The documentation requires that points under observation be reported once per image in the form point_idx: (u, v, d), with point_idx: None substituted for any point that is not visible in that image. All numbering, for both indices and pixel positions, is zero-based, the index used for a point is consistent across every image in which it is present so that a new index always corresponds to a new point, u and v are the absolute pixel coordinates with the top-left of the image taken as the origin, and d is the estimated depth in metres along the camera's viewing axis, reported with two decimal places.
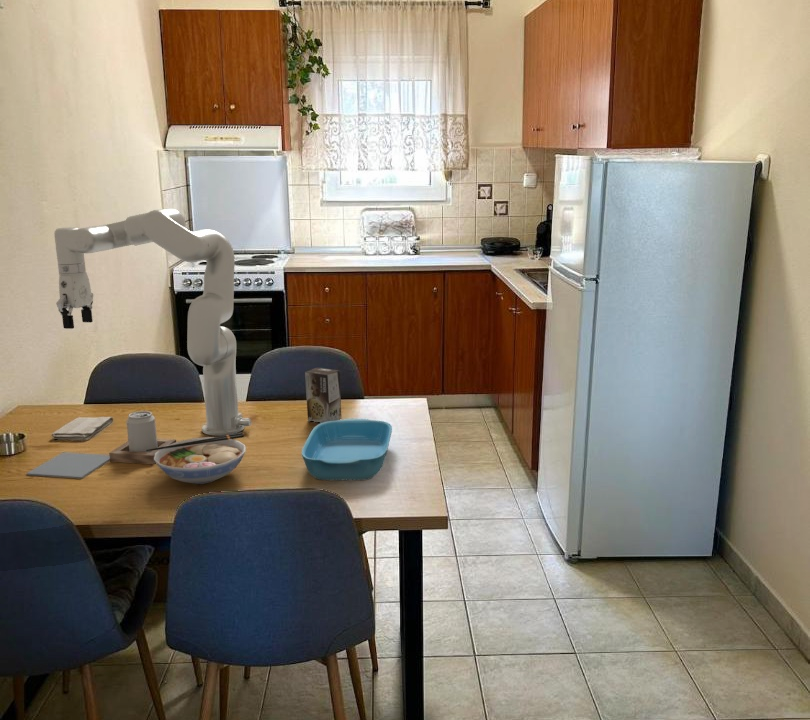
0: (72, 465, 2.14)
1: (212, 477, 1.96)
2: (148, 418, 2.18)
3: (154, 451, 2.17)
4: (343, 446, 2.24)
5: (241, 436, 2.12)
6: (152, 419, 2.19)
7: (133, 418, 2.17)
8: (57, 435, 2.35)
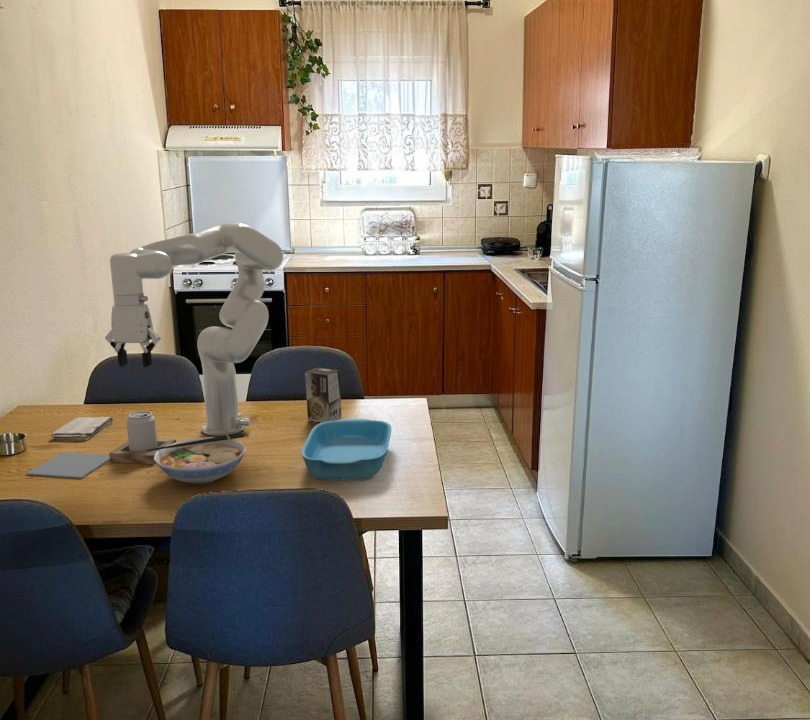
0: (72, 465, 2.14)
1: (212, 477, 1.96)
2: (148, 418, 2.18)
3: (154, 451, 2.17)
4: (342, 446, 2.24)
5: (241, 436, 2.12)
6: (152, 419, 2.19)
7: (133, 418, 2.17)
8: (57, 435, 2.35)
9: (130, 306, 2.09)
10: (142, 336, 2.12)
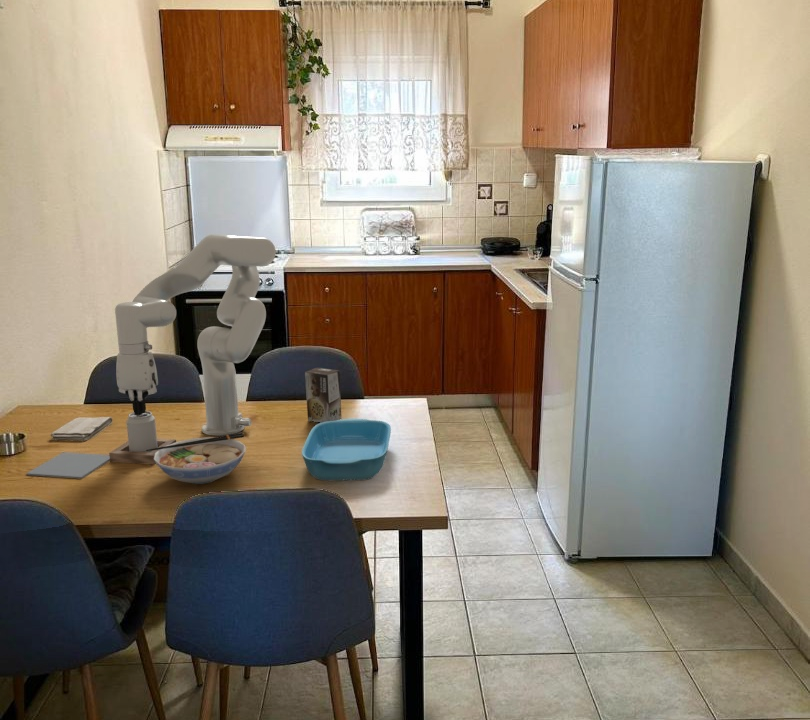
0: (72, 465, 2.14)
1: (212, 477, 1.96)
2: (148, 418, 2.18)
3: (154, 451, 2.17)
4: (342, 446, 2.24)
5: (241, 436, 2.12)
6: (152, 418, 2.19)
7: (133, 418, 2.17)
8: (56, 435, 2.35)
9: (135, 355, 2.12)
10: (146, 384, 2.15)
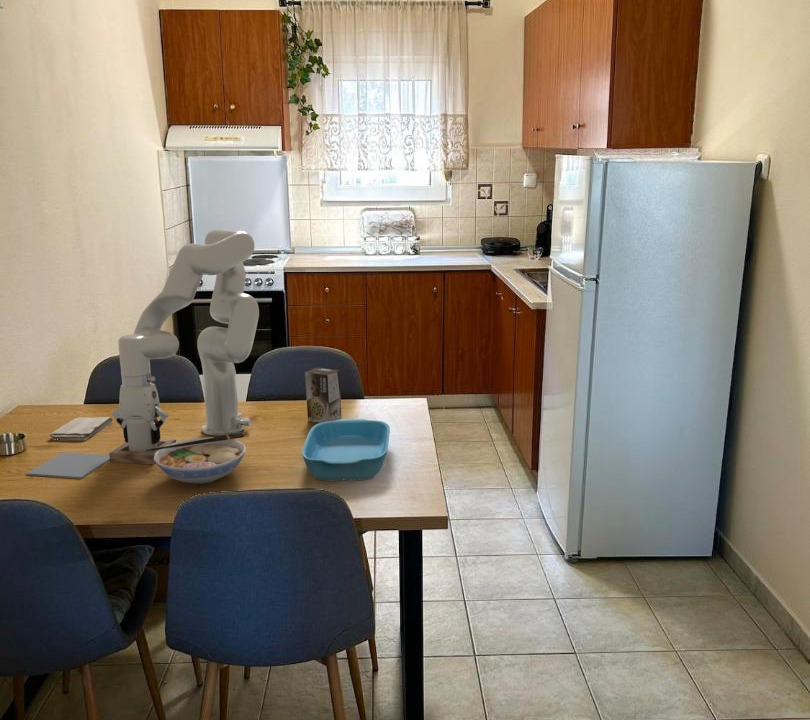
0: (72, 465, 2.14)
1: (212, 477, 1.96)
2: None
3: (154, 451, 2.17)
4: (340, 446, 2.24)
5: (241, 436, 2.12)
6: None
7: (133, 418, 2.17)
8: (55, 435, 2.35)
9: (138, 387, 2.14)
10: (149, 415, 2.17)
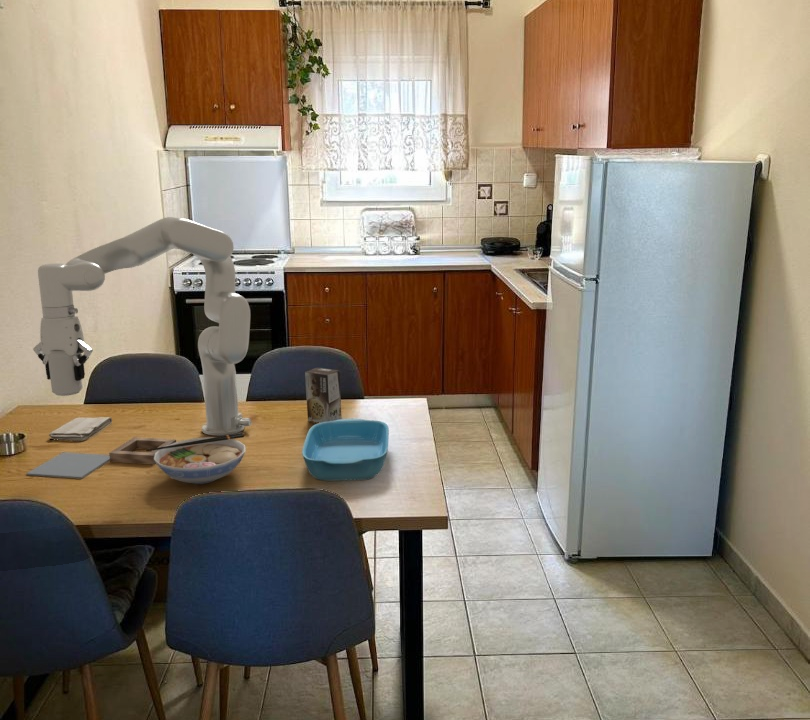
0: (72, 465, 2.14)
1: (212, 477, 1.96)
2: None
3: (154, 451, 2.17)
4: (339, 446, 2.24)
5: (241, 436, 2.12)
6: None
7: (54, 352, 2.05)
8: (54, 435, 2.35)
9: (59, 318, 2.02)
10: (72, 349, 2.05)
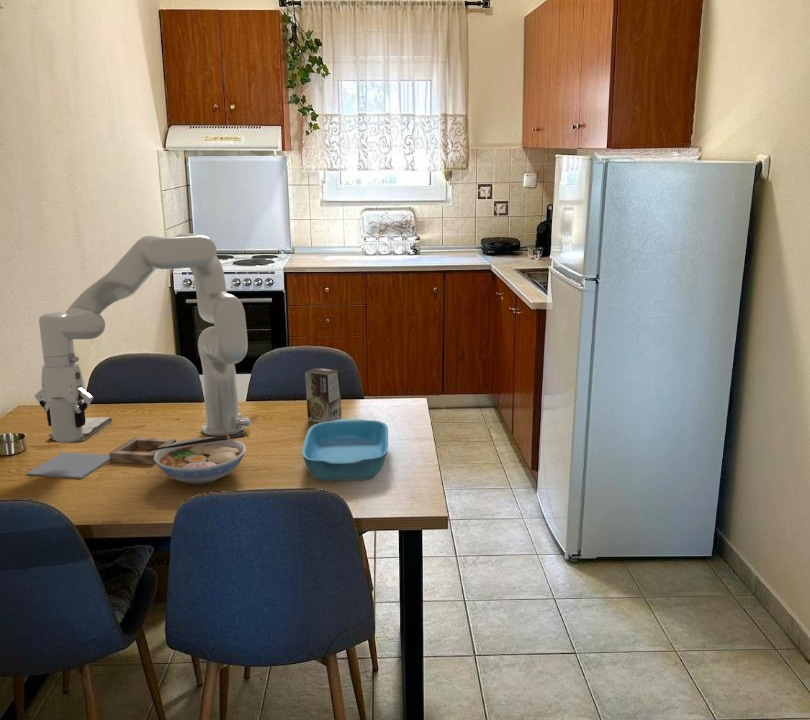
0: (72, 465, 2.14)
1: (212, 477, 1.96)
2: None
3: (154, 451, 2.17)
4: (338, 447, 2.24)
5: (241, 436, 2.12)
6: None
7: (55, 400, 2.07)
8: None
9: (60, 367, 2.05)
10: (72, 397, 2.07)
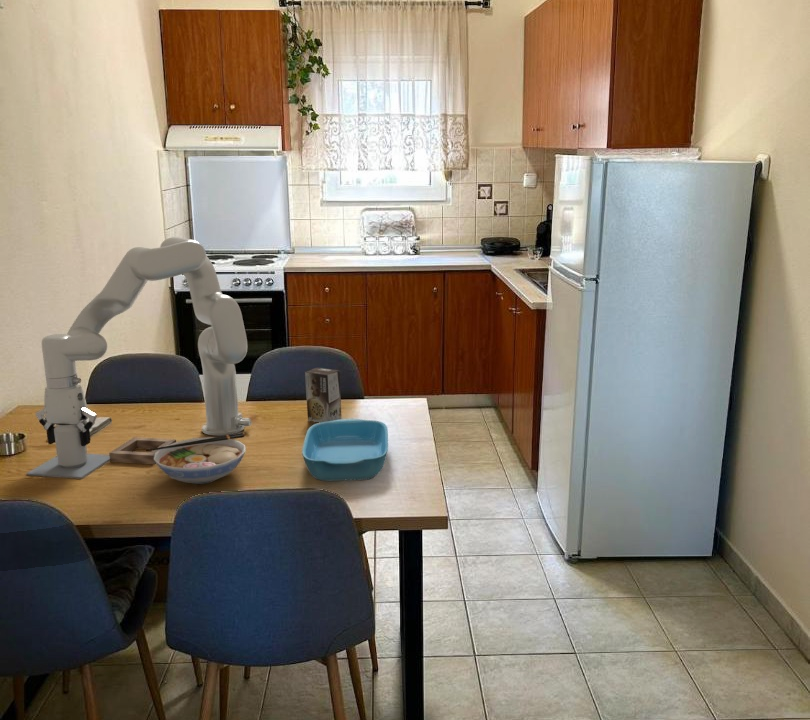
0: None
1: (212, 477, 1.96)
2: (76, 426, 2.11)
3: (154, 451, 2.17)
4: (338, 447, 2.24)
5: (241, 436, 2.12)
6: None
7: (60, 426, 2.09)
8: None
9: (62, 389, 2.06)
10: (75, 418, 2.09)
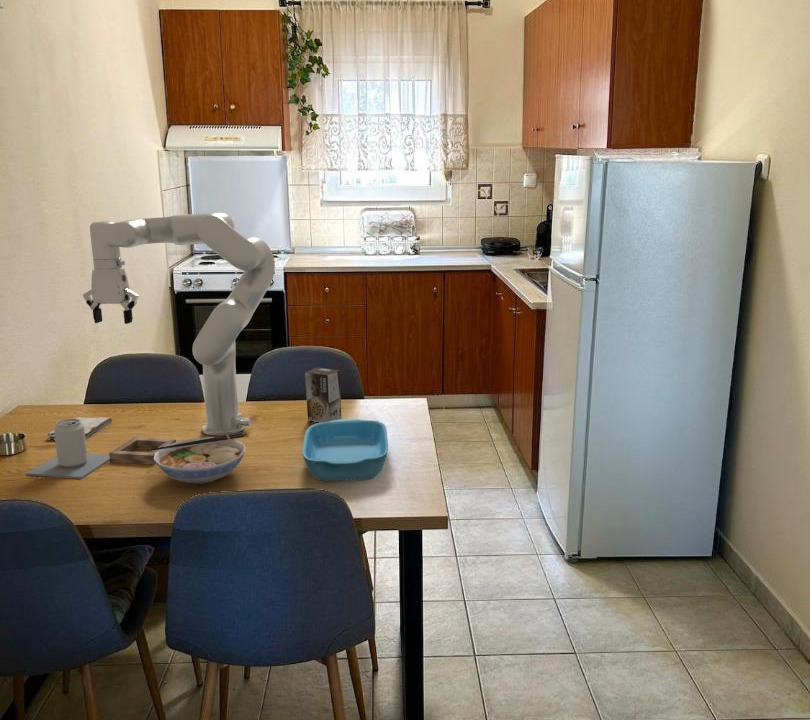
0: None
1: (212, 477, 1.96)
2: (76, 426, 2.11)
3: (154, 451, 2.17)
4: (336, 447, 2.24)
5: (241, 436, 2.12)
6: (81, 427, 2.12)
7: (60, 426, 2.09)
8: (53, 435, 2.35)
9: (108, 269, 2.29)
10: (119, 297, 2.31)
